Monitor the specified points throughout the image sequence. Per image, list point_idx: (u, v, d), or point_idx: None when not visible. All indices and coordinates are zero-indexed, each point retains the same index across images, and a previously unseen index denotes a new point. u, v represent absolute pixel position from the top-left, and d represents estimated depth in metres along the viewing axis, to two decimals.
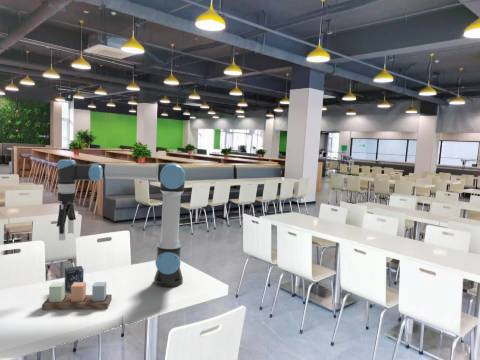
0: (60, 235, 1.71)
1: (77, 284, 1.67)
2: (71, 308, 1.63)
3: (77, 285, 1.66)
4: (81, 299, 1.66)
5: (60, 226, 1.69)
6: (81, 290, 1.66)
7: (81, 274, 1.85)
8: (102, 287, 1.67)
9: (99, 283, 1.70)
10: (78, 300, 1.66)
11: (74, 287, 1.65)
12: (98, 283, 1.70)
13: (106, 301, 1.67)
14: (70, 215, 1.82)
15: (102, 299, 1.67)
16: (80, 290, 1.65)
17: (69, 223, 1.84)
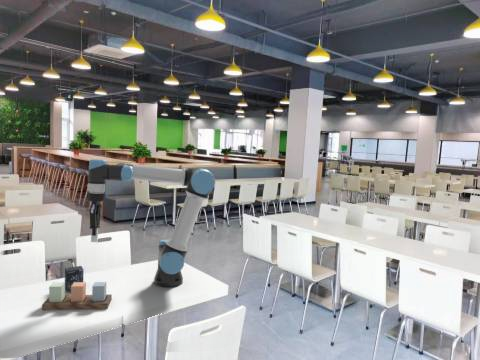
0: (92, 237, 1.76)
1: (77, 284, 1.67)
2: (71, 308, 1.63)
3: (77, 285, 1.66)
4: (81, 299, 1.66)
5: (93, 228, 1.74)
6: (81, 290, 1.66)
7: (81, 274, 1.85)
8: (102, 287, 1.67)
9: (99, 283, 1.70)
10: (78, 300, 1.66)
11: (74, 287, 1.65)
12: (98, 283, 1.70)
13: (106, 301, 1.67)
14: None
15: (102, 299, 1.67)
16: (80, 290, 1.65)
17: None
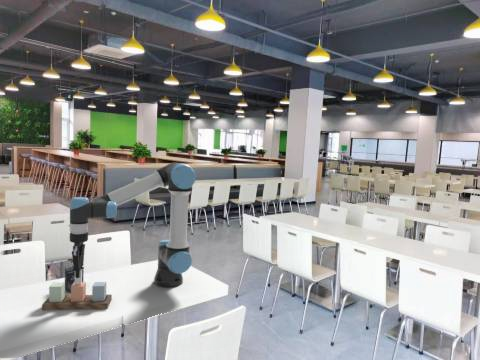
0: (76, 279, 1.66)
1: None
2: (71, 308, 1.63)
3: (77, 285, 1.66)
4: (81, 299, 1.66)
5: None
6: (81, 290, 1.66)
7: None
8: (102, 287, 1.67)
9: (99, 283, 1.70)
10: (78, 300, 1.66)
11: (74, 287, 1.65)
12: (98, 283, 1.70)
13: (106, 301, 1.67)
14: None
15: (102, 299, 1.67)
16: (80, 290, 1.65)
17: None
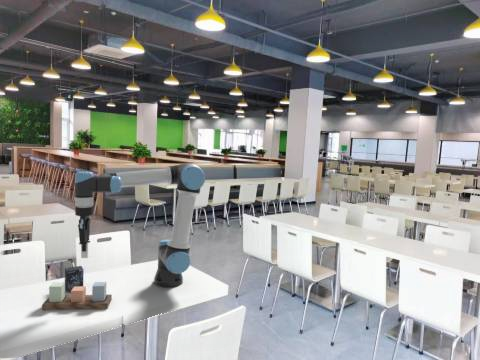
0: (82, 253, 1.68)
1: (77, 288, 1.68)
2: (71, 308, 1.63)
3: (77, 289, 1.67)
4: None
5: (83, 244, 1.67)
6: (81, 294, 1.66)
7: (81, 274, 1.85)
8: (102, 287, 1.67)
9: (99, 283, 1.70)
10: None
11: (73, 292, 1.65)
12: (98, 283, 1.70)
13: (106, 301, 1.67)
14: None
15: (102, 299, 1.67)
16: (80, 294, 1.66)
17: None
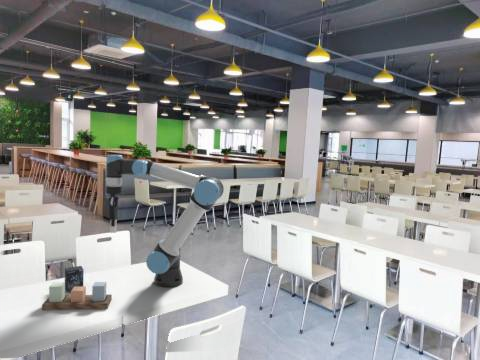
0: (111, 228, 1.87)
1: (77, 288, 1.68)
2: (71, 308, 1.63)
3: (77, 289, 1.67)
4: None
5: (112, 219, 1.85)
6: (81, 294, 1.66)
7: (81, 274, 1.85)
8: (102, 287, 1.67)
9: (99, 283, 1.70)
10: None
11: (73, 292, 1.65)
12: (98, 283, 1.70)
13: (106, 301, 1.67)
14: None
15: (102, 299, 1.67)
16: (80, 294, 1.66)
17: None
